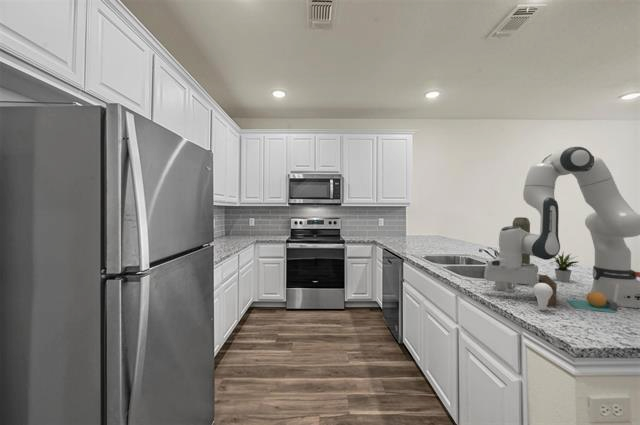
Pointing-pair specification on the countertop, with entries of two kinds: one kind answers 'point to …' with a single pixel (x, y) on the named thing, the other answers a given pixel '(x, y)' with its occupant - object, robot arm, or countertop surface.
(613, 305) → the stopper wall
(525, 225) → the thermos
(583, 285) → the countertop surface
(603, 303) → the ball
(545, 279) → the bridge
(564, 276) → the house plant
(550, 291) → the lightbulb
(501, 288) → the coffee cup
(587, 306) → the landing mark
